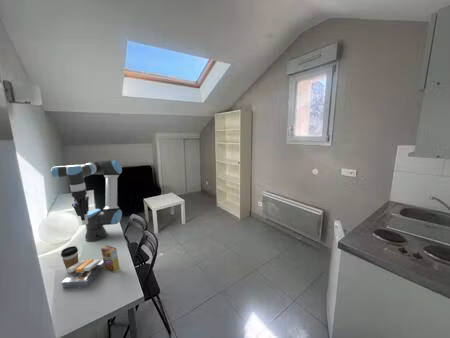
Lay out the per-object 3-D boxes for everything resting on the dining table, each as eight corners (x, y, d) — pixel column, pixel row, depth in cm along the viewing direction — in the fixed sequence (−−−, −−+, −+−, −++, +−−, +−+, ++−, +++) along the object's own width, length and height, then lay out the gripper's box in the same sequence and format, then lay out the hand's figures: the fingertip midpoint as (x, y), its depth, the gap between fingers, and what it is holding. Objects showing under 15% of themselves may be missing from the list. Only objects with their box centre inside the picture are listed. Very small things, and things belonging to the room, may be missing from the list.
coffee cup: (72, 275, 119) (67, 254, 116) (61, 273, 120) (56, 252, 117) (84, 266, 127) (80, 245, 124) (74, 264, 128) (69, 244, 125)
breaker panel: (84, 266, 127) (83, 259, 126) (106, 265, 127) (104, 258, 126) (63, 288, 109) (61, 280, 108) (88, 286, 110) (86, 279, 109)
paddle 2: (95, 262, 123) (95, 259, 123) (100, 262, 123) (100, 259, 123) (83, 271, 112) (83, 267, 112) (89, 270, 112) (89, 267, 112)
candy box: (104, 269, 123) (100, 248, 120) (110, 265, 127) (106, 244, 124) (114, 273, 120) (110, 251, 117) (119, 268, 124) (116, 247, 121)
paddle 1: (80, 263, 123) (80, 260, 123) (86, 263, 123) (86, 260, 123) (67, 271, 112) (67, 268, 112) (73, 271, 112) (73, 268, 112)
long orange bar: (88, 262, 123) (88, 259, 123) (93, 261, 123) (93, 259, 123) (75, 272, 112) (75, 269, 112) (81, 272, 112) (81, 269, 112)
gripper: (79, 186, 126) (85, 219, 132) (64, 193, 113) (72, 229, 119) (91, 186, 126) (97, 218, 132) (77, 193, 114) (85, 228, 119)
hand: (85, 223), depth 125 cm, fingers closed
